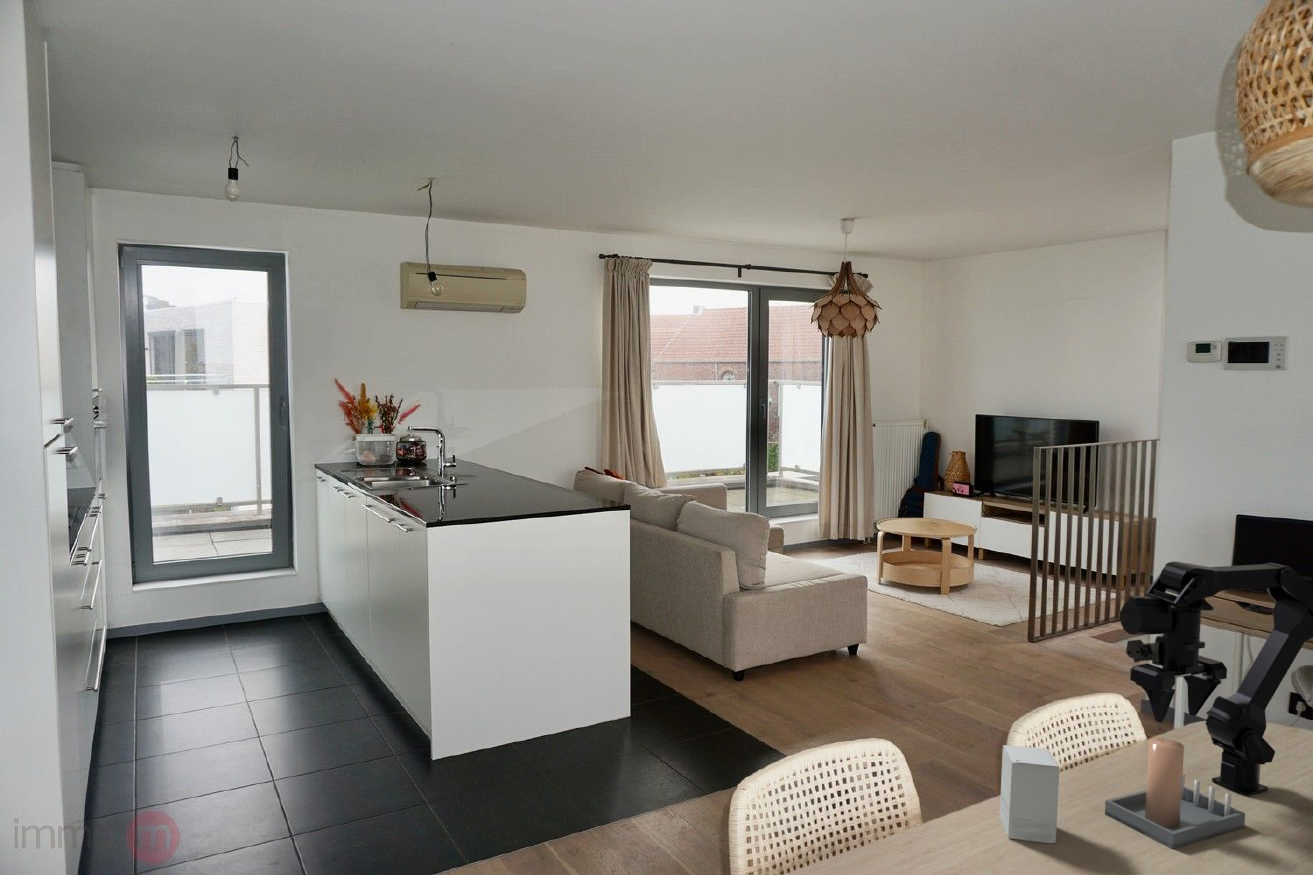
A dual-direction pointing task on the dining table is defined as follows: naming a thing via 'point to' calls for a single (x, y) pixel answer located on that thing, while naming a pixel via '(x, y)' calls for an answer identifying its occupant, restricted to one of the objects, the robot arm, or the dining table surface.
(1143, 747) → the dining table surface
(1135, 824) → the drying tray
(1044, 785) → the supplement box
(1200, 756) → the dining table surface
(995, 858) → the dining table surface
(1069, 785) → the dining table surface
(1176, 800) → the peach pillar candle
